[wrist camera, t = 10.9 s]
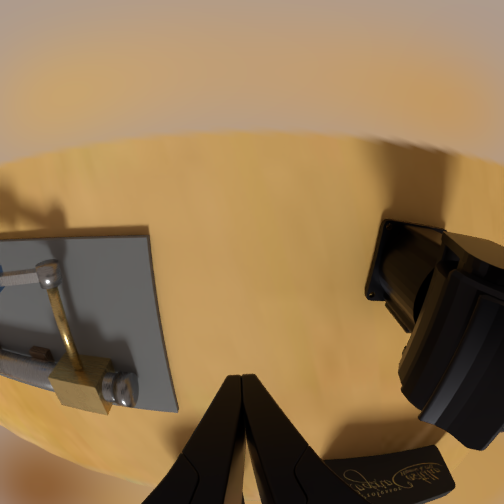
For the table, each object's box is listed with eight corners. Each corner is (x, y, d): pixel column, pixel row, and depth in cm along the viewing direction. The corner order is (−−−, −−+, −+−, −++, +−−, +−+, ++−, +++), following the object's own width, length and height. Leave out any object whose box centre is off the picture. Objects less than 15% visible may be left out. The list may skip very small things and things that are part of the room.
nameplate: (315, 465, 32) (327, 526, 22) (320, 459, 31) (333, 521, 22) (429, 450, 34) (449, 493, 24) (435, 443, 33) (457, 487, 23)
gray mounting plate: (149, 235, 20) (146, 237, 20) (178, 408, 26) (177, 412, 26) (-46, 242, 20) (-49, 244, 19) (0, 371, 26) (-2, 374, 25)
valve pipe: (115, 278, 21) (93, 304, 17) (142, 389, 25) (132, 419, 21) (-43, 270, 20) (-64, 285, 16) (-12, 355, 24) (-27, 372, 20)
